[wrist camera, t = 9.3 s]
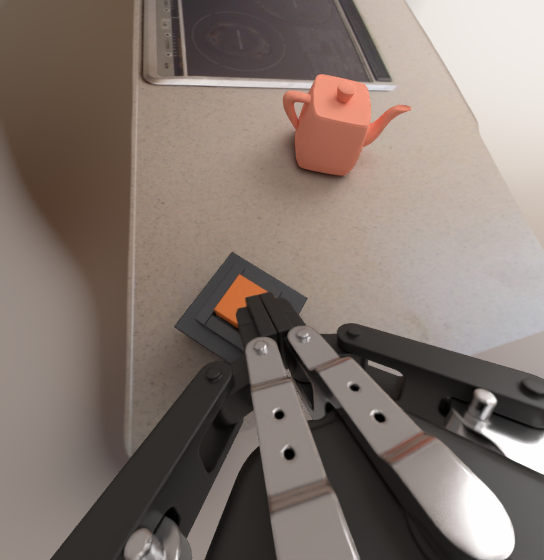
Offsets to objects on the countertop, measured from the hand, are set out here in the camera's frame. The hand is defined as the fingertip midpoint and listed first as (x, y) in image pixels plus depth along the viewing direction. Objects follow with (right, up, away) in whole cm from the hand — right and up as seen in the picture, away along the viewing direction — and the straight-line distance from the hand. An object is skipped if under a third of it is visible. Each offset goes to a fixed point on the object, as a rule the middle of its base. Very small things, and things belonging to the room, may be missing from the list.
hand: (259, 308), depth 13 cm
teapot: (+10, +24, +28) cm, 38 cm away
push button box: (-3, -3, +16) cm, 17 cm away
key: (-2, -1, +10) cm, 10 cm away
